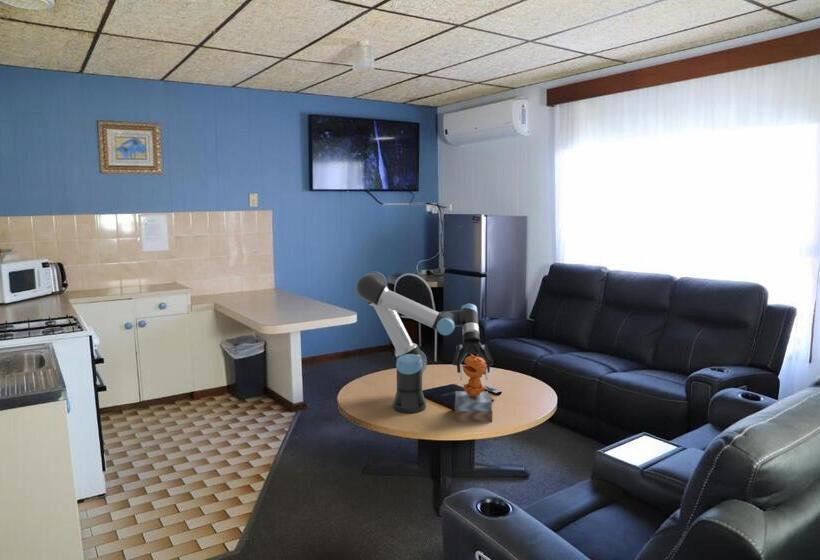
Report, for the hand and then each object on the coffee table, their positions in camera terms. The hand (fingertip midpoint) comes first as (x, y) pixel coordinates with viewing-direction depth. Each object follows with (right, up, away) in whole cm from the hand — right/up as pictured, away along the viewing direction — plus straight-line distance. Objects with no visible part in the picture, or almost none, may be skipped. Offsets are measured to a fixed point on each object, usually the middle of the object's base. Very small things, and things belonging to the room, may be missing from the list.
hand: (474, 378), depth 254 cm
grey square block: (0, -17, +5) cm, 18 cm away
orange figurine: (0, -7, +4) cm, 9 cm away
